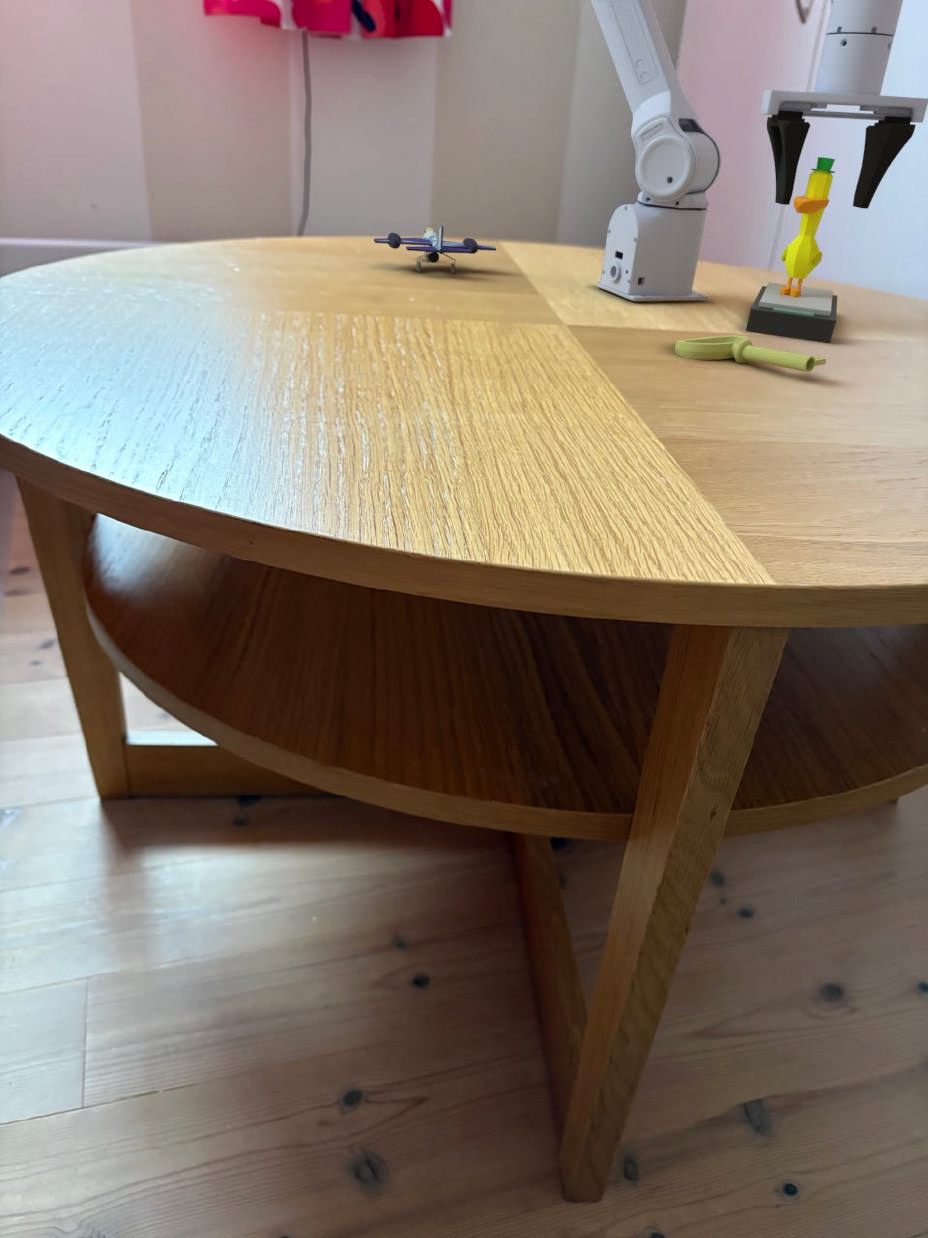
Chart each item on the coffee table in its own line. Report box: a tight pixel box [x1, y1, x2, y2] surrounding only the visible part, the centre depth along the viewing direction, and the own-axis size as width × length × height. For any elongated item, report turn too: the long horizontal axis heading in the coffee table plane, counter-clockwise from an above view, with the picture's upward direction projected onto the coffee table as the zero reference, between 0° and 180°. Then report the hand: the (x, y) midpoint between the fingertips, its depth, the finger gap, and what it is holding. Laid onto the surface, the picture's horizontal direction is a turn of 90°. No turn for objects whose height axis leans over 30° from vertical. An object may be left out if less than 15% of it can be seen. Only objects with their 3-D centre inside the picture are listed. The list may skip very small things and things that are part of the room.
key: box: [674, 334, 827, 373], centre depth 73 cm, size 7×12×2 cm, turn 53°
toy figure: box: [780, 156, 836, 297], centre depth 84 cm, size 7×4×12 cm, turn 141°
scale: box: [745, 281, 838, 343], centre depth 87 cm, size 14×8×2 cm, turn 159°
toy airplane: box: [373, 224, 497, 274], centre depth 100 cm, size 13×14×4 cm
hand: (821, 205), depth 85 cm, fingers open, 7 cm apart
